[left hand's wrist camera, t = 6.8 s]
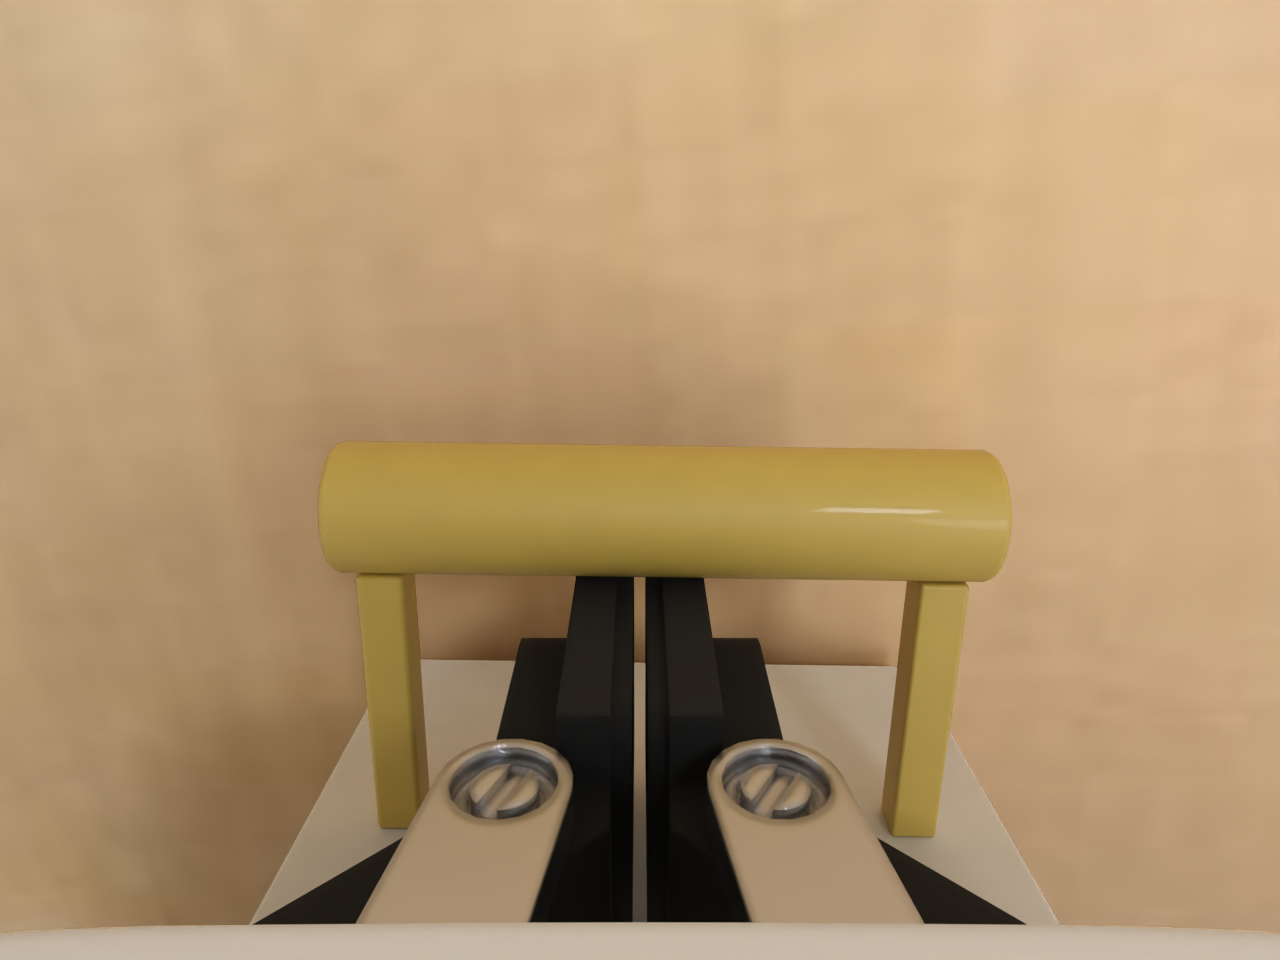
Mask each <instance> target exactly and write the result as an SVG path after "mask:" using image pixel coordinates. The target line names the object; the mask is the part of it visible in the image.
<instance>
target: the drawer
mask: <svg viewBox="0 0 1280 960" xmlns="http://www.w3.org/2000/svg"><path fill="white" fill-rule="evenodd" d="M318 525H319V534H320V540H321V545H322V549H323V552H324V555H325V558H326V560H327V562H328V563H329V565H330V566H331V567H332V568H333V569H335V570H337V571H339V572H342V573H359V575H358V576H357V579H356V587H357V598H358V609H359V620H360V631H361V641H362V652H363V663H364V674H365V685H366V696H367V706H368V708H367V710H366V712H365V713H364V715H363V717H362V719H361V721H360V723H359V724H358V726H357V728H356V730H355V732H354V734H353V735H352V737H351V739H350V741H349V743H348V745H347V746H346V748H345V750H344V752H343V754H342V755H341V757H340V759H339V761H338V763H337V765H336V766H335V768H334V770H333V772H332V774H331V776H330V777H329V779H328V781H327V783H326V785H325V787H324V788H323V790H322V792H321V794H320V796H319V798H318V799H317V801H316V803H315V805H314V807H313V809H312V810H311V812H310V814H309V816H308V818H307V820H306V821H305V823H304V825H303V827H302V829H301V831H300V832H299V834H298V836H297V838H296V840H295V842H294V843H293V845H292V847H291V849H290V851H289V853H288V854H287V856H286V858H285V860H284V862H283V864H282V865H281V867H280V869H279V871H278V873H277V875H276V876H275V878H274V880H273V882H272V884H271V886H270V887H269V889H268V891H267V893H266V895H265V897H264V898H263V900H262V902H261V904H260V906H259V908H258V909H257V911H256V913H255V915H254V917H253V919H252V920H251V922H250V924H249V925H252V924H254V923H256V922H258V921H259V920H261V919H263V918H264V917H266V916H268V915H270V914H271V913H273V912H275V911H277V910H278V909H280V908H282V907H283V906H285V905H287V904H289V903H290V902H292V901H294V900H296V899H297V898H299V897H301V896H302V895H304V894H306V893H308V892H309V891H311V890H313V889H314V888H316V887H318V886H320V885H321V884H323V883H325V882H327V881H328V880H330V879H332V878H333V877H335V876H337V875H339V874H340V873H342V872H344V871H346V870H347V869H349V868H351V867H352V866H354V865H356V864H358V863H359V862H361V861H363V860H365V859H366V858H368V857H370V856H371V855H373V854H375V853H377V852H378V851H380V850H382V849H384V848H385V847H387V846H389V845H390V844H392V843H394V842H396V841H397V840H399V839H401V838H402V837H404V835H405V833H406V831H407V830H408V828H409V826H410V824H411V822H412V821H413V819H414V817H415V815H416V813H417V811H418V810H419V808H420V806H421V804H422V802H423V801H424V799H425V797H426V795H427V793H428V792H429V790H430V788H431V786H432V784H433V783H434V781H435V779H436V777H437V775H438V774H439V773H440V771H441V770H442V769H443V768H444V766H445V765H446V764H447V763H448V761H450V760H451V759H453V758H454V757H456V756H457V755H458V754H460V753H461V752H463V751H464V750H467V749H469V748H472V747H474V746H476V745H479V744H481V743H485V742H490V741H495V740H496V739H497V735H498V731H499V726H500V722H501V718H502V714H503V710H504V706H505V702H506V698H507V694H508V690H509V686H510V682H511V677H512V673H513V669H514V665H515V661H499V660H431V659H420V646H419V632H418V618H417V603H416V589H415V575H414V574H470V575H539V576H609V577H678V578H748V579H817V580H886V581H907V586H906V595H905V604H904V612H903V621H902V630H901V639H900V648H899V656H898V665H897V666H841V665H773V664H765V667H766V671H767V675H768V679H769V683H770V687H771V692H772V696H773V700H774V704H775V708H776V712H777V716H778V720H779V724H780V728H781V732H782V736H783V740H785V741H790V742H795V743H799V744H801V745H804V746H806V747H808V748H811V749H813V750H816V751H817V752H819V753H820V754H822V755H823V756H824V757H826V758H827V759H829V760H830V761H832V763H833V764H834V765H835V766H836V768H837V769H838V770H839V771H840V773H841V774H842V775H843V777H844V779H845V781H846V783H847V784H848V786H849V788H850V790H851V792H852V793H853V795H854V797H855V799H856V801H857V802H858V804H859V806H860V808H861V810H862V811H863V813H864V815H865V817H866V819H867V821H868V822H869V824H870V826H871V828H872V830H873V831H874V833H875V835H876V837H877V838H879V839H881V840H882V841H884V842H886V843H887V844H889V845H891V846H893V847H894V848H896V849H898V850H899V851H901V852H903V853H905V854H906V855H908V856H910V857H912V858H913V859H915V860H917V861H918V862H920V863H922V864H924V865H925V866H927V867H929V868H931V869H932V870H934V871H936V872H937V873H939V874H941V875H943V876H944V877H946V878H948V879H950V880H951V881H953V882H955V883H956V884H958V885H960V886H962V887H963V888H965V889H967V890H969V891H970V892H972V893H974V894H975V895H977V896H979V897H981V898H982V899H984V900H986V901H988V902H989V903H991V904H993V905H994V906H996V907H998V908H1000V909H1001V910H1003V911H1005V912H1007V913H1008V914H1010V915H1012V916H1013V917H1015V918H1017V919H1019V920H1020V921H1022V922H1024V923H1026V924H1027V925H1060V924H1059V922H1058V920H1057V918H1056V917H1055V915H1054V913H1053V911H1052V910H1051V908H1050V906H1049V904H1048V903H1047V901H1046V899H1045V897H1044V896H1043V894H1042V892H1041V890H1040V889H1039V887H1038V885H1037V883H1036V882H1035V880H1034V878H1033V876H1032V875H1031V873H1030V871H1029V869H1028V868H1027V866H1026V864H1025V862H1024V860H1023V859H1022V857H1021V855H1020V853H1019V852H1018V850H1017V848H1016V846H1015V845H1014V843H1013V841H1012V839H1011V838H1010V836H1009V834H1008V832H1007V831H1006V829H1005V827H1004V825H1003V824H1002V822H1001V820H1000V818H999V817H998V815H997V813H996V811H995V810H994V808H993V806H992V804H991V803H990V801H989V799H988V797H987V796H986V794H985V792H984V790H983V788H982V787H981V785H980V783H979V781H978V780H977V778H976V776H975V774H974V773H973V771H972V769H971V767H970V766H969V764H968V762H967V760H966V759H965V757H964V755H963V753H962V752H961V750H960V748H959V746H958V745H957V743H956V741H955V739H954V738H953V736H952V734H951V732H950V731H949V728H950V721H951V714H952V707H953V699H954V692H955V685H956V677H957V670H958V663H959V656H960V648H961V641H962V634H963V626H964V619H965V612H966V605H967V597H968V590H969V588H968V585H967V584H966V583H965V582H984V581H987V580H989V579H991V578H993V577H994V576H996V574H997V573H998V572H999V570H1000V569H1001V567H1002V565H1003V563H1004V560H1005V557H1006V554H1007V550H1008V545H1009V540H1010V532H1011V501H1010V493H1009V487H1008V483H1007V479H1006V476H1005V472H1004V470H1003V468H1002V466H1001V464H1000V462H999V461H998V459H997V458H996V457H995V456H994V455H993V454H991V453H989V452H987V451H983V450H937V449H866V448H795V447H724V446H653V445H582V444H511V443H440V442H369V441H345V442H342V443H339V444H337V445H336V446H335V447H334V448H333V449H332V450H331V452H330V453H329V455H328V457H327V460H326V462H325V465H324V469H323V472H322V477H321V482H320V487H319V496H318ZM633 922H647V875H646V774H645V663H636V662H634V832H633Z"/></svg>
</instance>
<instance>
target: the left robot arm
mask: <svg viewBox="0 0 1280 960" xmlns="http://www.w3.org/2000/svg"><path fill="white" fill-rule="evenodd" d="M645 774H646V875H647V922H633V832H634V577H609V576H576V582H575V588H574V595H573V602H572V608H571V615H570V622H569V628H568V635H567V638H523V639H521V642H520V645H519V649H518V653H517V657H516V661H515V665H514V669H513V673H512V677H511V682H510V686H509V690H508V694H507V698H506V702H505V706H504V710H503V714H502V718H501V722H500V726H499V731H498V735H497V739H496V740H495V741H490V742H485V743H481V744H479V745H476V746H474V747H472V748H469V749H467V750H464V751H463V752H461V753H460V754H458V755H457V756H456V757H454V758H453V759H451V760H450V761H448V763H447V764H446V765H445V766H444V768H443V769H442V770H441V771H440V773H439V774H438V775H437V777H436V779H435V781H434V783H433V784H432V786H431V788H430V790H429V792H428V793H427V795H426V797H425V799H424V801H423V802H422V804H421V806H420V808H419V810H418V811H417V813H416V815H415V817H414V819H413V821H412V822H411V824H410V826H409V828H408V830H407V831H406V833H405V835H404V837H402V838H401V839H399V840H397V841H396V842H394V843H392V844H390V845H389V846H387V847H385V848H384V849H382V850H380V851H378V852H377V853H375V854H373V855H371V856H370V857H368V858H366V859H365V860H363V861H361V862H359V863H358V864H356V865H354V866H352V867H351V868H349V869H347V870H346V871H344V872H342V873H340V874H339V875H337V876H335V877H333V878H332V879H330V880H328V881H327V882H325V883H323V884H321V885H320V886H318V887H316V888H314V889H313V890H311V891H309V892H308V893H306V894H304V895H302V896H301V897H299V898H297V899H296V900H294V901H292V902H290V903H289V904H287V905H285V906H283V907H282V908H280V909H278V910H277V911H275V912H273V913H271V914H270V915H268V916H266V917H264V918H263V919H261V920H259V921H258V922H256V923H254V924H252V925H163V926H126V927H100V928H73V929H47V930H22V931H12V932H2V933H0V960H1280V933H1278V932H1268V931H1258V930H1234V929H1207V928H1180V927H1154V926H1117V925H1027V924H1026V923H1024V922H1022V921H1020V920H1019V919H1017V918H1015V917H1013V916H1012V915H1010V914H1008V913H1007V912H1005V911H1003V910H1001V909H1000V908H998V907H996V906H994V905H993V904H991V903H989V902H988V901H986V900H984V899H982V898H981V897H979V896H977V895H975V894H974V893H972V892H970V891H969V890H967V889H965V888H963V887H962V886H960V885H958V884H956V883H955V882H953V881H951V880H950V879H948V878H946V877H944V876H943V875H941V874H939V873H937V872H936V871H934V870H932V869H931V868H929V867H927V866H925V865H924V864H922V863H920V862H918V861H917V860H915V859H913V858H912V857H910V856H908V855H906V854H905V853H903V852H901V851H899V850H898V849H896V848H894V847H893V846H891V845H889V844H887V843H886V842H884V841H882V840H881V839H879V838H877V837H876V835H875V833H874V831H873V830H872V828H871V826H870V824H869V822H868V821H867V819H866V817H865V815H864V813H863V811H862V810H861V808H860V806H859V804H858V802H857V801H856V799H855V797H854V795H853V793H852V792H851V790H850V788H849V786H848V784H847V783H846V781H845V779H844V777H843V775H842V774H841V773H840V771H839V770H838V769H837V768H836V766H835V765H834V764H833V763H832V761H830V760H829V759H827V758H826V757H824V756H823V755H822V754H820V753H819V752H817V751H816V750H813V749H811V748H808V747H806V746H804V745H801V744H799V743H795V742H790V741H785V740H783V736H782V732H781V728H780V724H779V720H778V716H777V712H776V708H775V704H774V700H773V696H772V692H771V687H770V683H769V679H768V675H767V671H766V667H765V663H764V659H763V655H762V651H761V647H760V643H759V640H758V639H757V638H712V631H711V625H710V618H709V611H708V605H707V598H706V592H705V585H704V578H678V577H646V581H645Z"/></svg>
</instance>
